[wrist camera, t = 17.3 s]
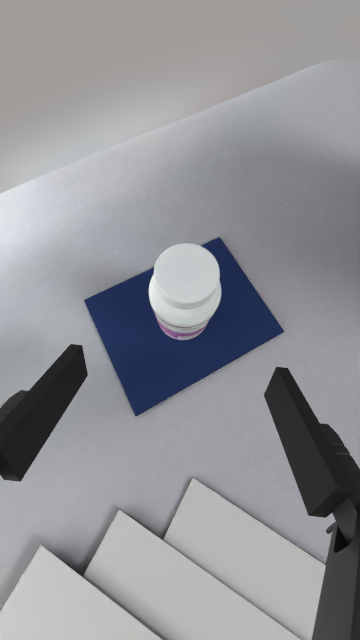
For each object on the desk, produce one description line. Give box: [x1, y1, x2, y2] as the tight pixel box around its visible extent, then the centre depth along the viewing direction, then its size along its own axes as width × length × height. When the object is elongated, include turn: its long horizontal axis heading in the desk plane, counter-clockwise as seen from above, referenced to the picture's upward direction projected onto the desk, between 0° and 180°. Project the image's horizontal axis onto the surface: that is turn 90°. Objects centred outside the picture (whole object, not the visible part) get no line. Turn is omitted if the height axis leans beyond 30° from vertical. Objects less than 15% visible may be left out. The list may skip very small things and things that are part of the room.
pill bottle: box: [149, 243, 221, 340], centre depth 17 cm, size 5×5×10 cm
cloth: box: [84, 237, 284, 416], centre depth 21 cm, size 17×13×1 cm
